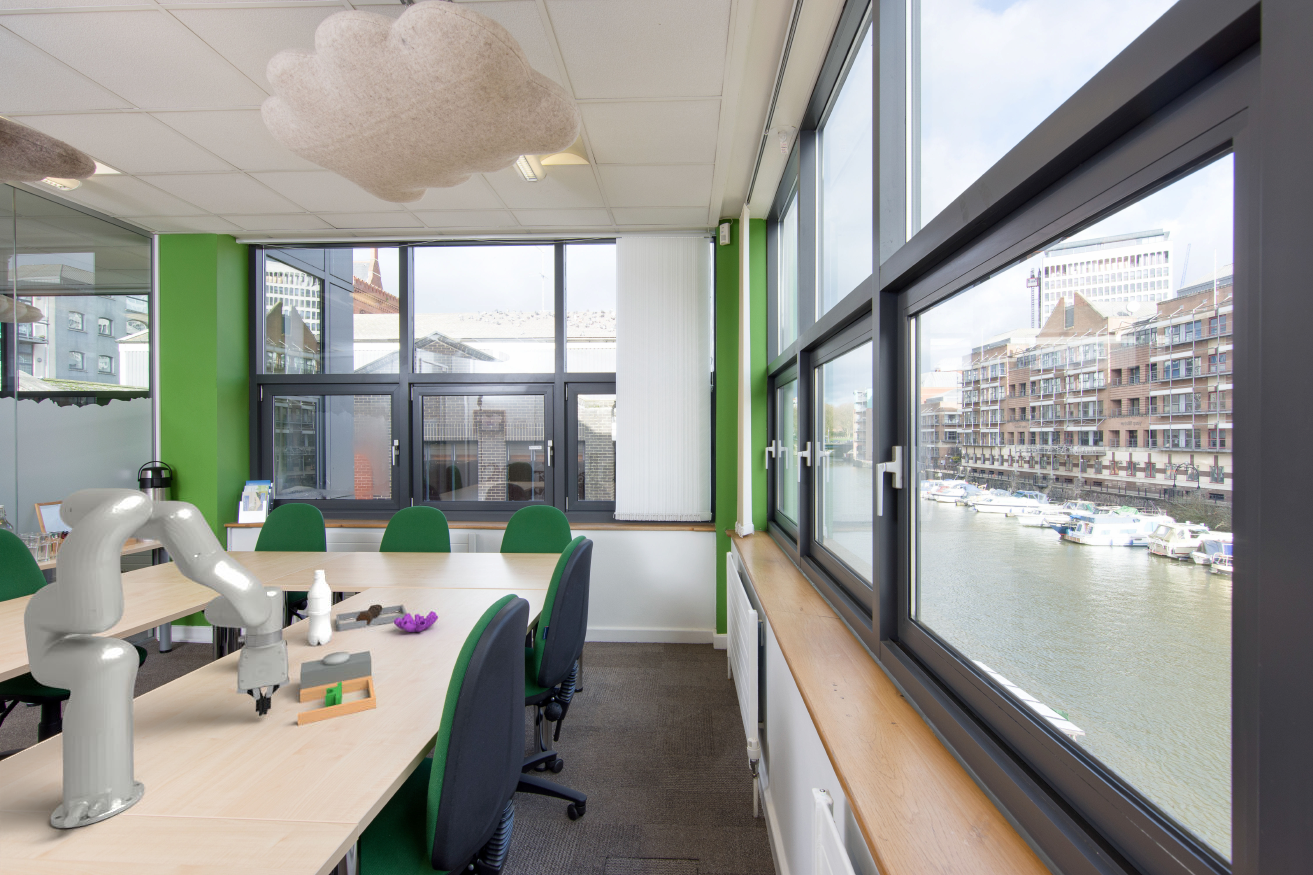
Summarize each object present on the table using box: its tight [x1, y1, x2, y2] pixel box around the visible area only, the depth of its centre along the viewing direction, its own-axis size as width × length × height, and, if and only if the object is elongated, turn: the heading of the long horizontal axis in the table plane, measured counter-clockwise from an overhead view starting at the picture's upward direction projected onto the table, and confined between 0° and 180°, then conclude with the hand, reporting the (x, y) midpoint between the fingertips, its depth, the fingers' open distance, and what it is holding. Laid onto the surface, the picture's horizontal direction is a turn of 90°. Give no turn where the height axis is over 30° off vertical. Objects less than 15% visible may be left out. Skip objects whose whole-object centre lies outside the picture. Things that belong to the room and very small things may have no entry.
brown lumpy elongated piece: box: [355, 603, 383, 625], centre depth 217 cm, size 6×5×15 cm
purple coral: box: [393, 610, 439, 633], centre depth 204 cm, size 11×15×10 cm
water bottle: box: [307, 569, 333, 647], centre depth 193 cm, size 7×7×25 cm
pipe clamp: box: [324, 682, 343, 708], centre depth 146 cm, size 10×4×4 cm, turn 27°
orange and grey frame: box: [297, 650, 377, 726], centre depth 151 cm, size 24×17×8 cm
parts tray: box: [335, 604, 408, 632], centre depth 217 cm, size 15×24×2 cm, turn 120°
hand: (263, 712), depth 138 cm, fingers closed
